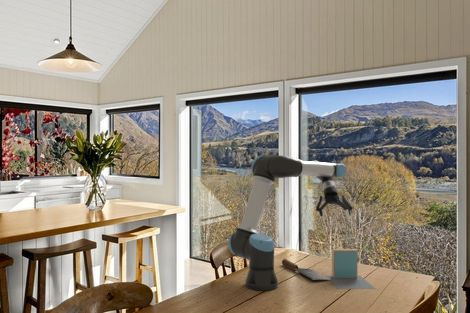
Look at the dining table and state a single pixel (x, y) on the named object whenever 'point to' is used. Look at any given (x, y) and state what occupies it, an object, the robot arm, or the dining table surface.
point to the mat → (350, 283)
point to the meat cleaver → (304, 271)
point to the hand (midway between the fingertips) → (336, 220)
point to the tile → (344, 263)
